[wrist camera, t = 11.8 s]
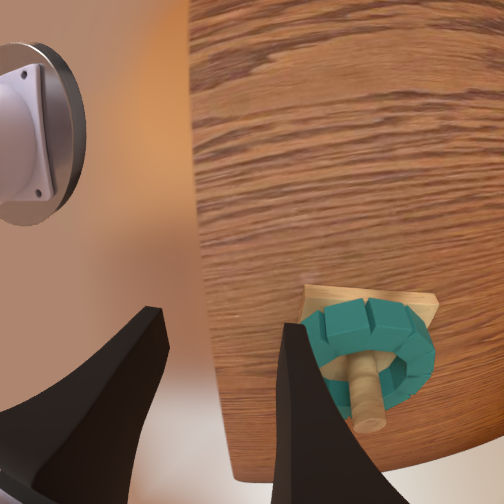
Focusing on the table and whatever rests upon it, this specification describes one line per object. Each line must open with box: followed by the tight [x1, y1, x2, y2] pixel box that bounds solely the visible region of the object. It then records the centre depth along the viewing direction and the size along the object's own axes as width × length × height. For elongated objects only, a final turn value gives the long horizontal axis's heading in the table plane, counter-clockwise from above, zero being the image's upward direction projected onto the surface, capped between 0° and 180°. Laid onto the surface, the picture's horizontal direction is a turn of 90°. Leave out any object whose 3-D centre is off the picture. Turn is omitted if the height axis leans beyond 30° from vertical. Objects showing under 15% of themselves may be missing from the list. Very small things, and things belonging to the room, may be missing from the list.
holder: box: [297, 284, 439, 433], centre depth 18 cm, size 9×9×7 cm
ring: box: [299, 297, 435, 419], centre depth 19 cm, size 10×10×2 cm
